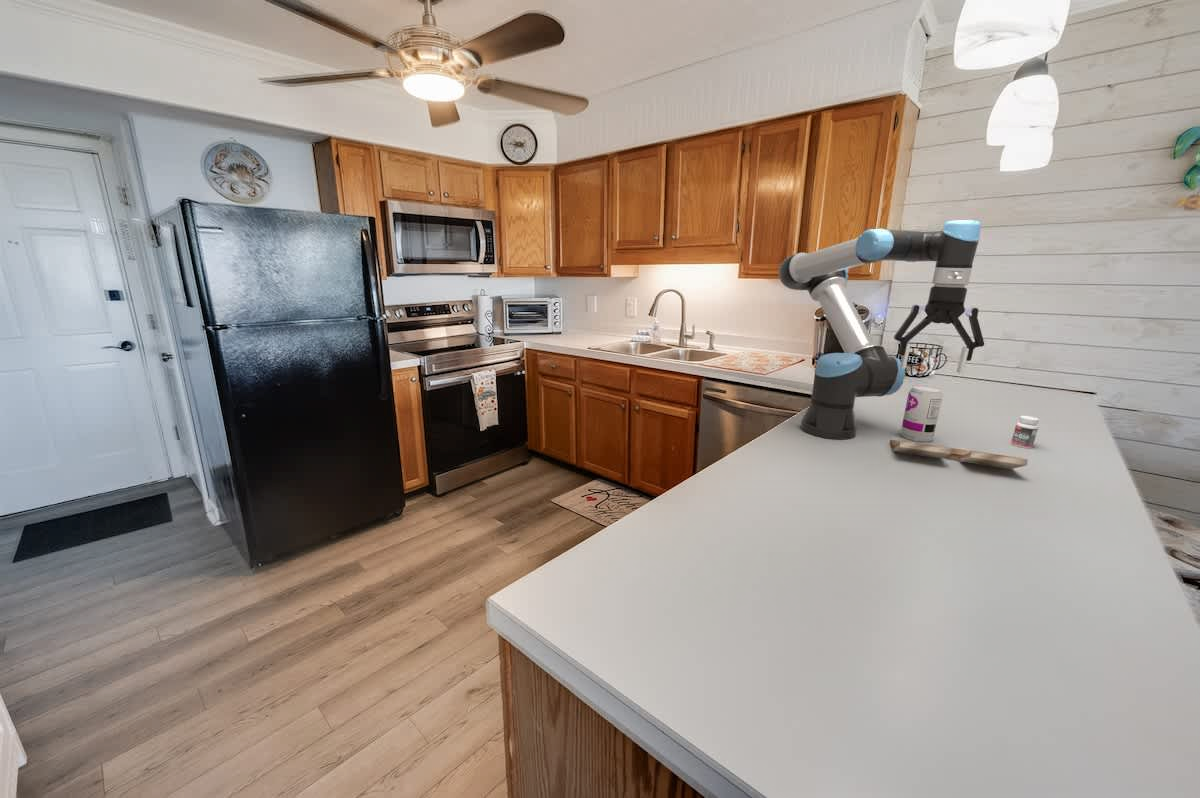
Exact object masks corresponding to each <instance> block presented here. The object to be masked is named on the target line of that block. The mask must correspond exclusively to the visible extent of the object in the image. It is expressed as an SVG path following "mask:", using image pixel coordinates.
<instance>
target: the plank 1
mask: <svg viewBox="0 0 1200 798" xmlns="http://www.w3.org/2000/svg"><path fill="white" fill-rule="evenodd" d="M899 441H900V443H898V444H897V445H895V446H894V447H893V451H892V452H897V453H901V454H902V453H903V454H909V455H915V456H923V457H929V458H937V459H944V458H943V457H946V456H948V455H950V454H951V449H952V448H953V447H948V446H941V447H940V446H939V445H934V446H932V444H927V445H925V444H926V443H925V444H924V443H919V444H918V442H912V441H905V440H899ZM904 441H905V442H904ZM911 442H912V443H911ZM947 447H948V448H947Z"/></svg>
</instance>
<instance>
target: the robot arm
mask: <svg viewBox="0 0 1200 798" xmlns="http://www.w3.org/2000/svg"><path fill="white" fill-rule="evenodd" d="M981 228H982V225H981V222H980V221H978V220H973V219H961V220H960V219H958V220H956V219H955V220H948V221H945V223H944V225H943V228H942V230H936V231H935V230H931V231H929V230H927V231H921V230H920V231H919V230H900V229H886V228H873V229H872V228H871V229H867V230H864V231H863V232H862V234H860V235H859V236H858V237H857V238H853V239H850V240H847V241H844V242H841V243H838V244H835V245H831V246H828V247H825V248H821V249H818V250H815V251H812V252H810V253H807V252H799V253H794V254H792V255H790V256H787V257H786V258H785V259H784V260H782V262H781V263H780V265H779V268H778V279H779V282H781V284H782V285H783V286H785V288H788V289H790V290H795V291H808V293H809V296H810V298H811V299H812V300H813V301H814V302H819V305H820V306H821V308H822V310H823V313H824V314H825V317H826V318H827V320H828V322H829V325H830V327H831V328H832V331H833V332H834V334H835V336H836V338H837V340H838V342H839V345H840V346H841V349H842V350H843V352H832V353H826V354H823V355H821V356H820V357H818V359H817V360H816V366H815V369H814V378H813V383H812V384H813V386H812V392H811V397H810V398H811V399H810V404H809V406H808V408H807V410H806V411H805V414H804V415H803V417H802V419H801V424H800V429H802V431H804V432H805V433H808V434H810V435H812V436H813V435H814V436H816V437H820V438H824V439H832V440H833V439H834V440H848V439H853V438H854V437H856V434H857V423H856V418H855V412H854V407H855V402H856V398H865V397H866V398H868V397H885V396H890V395H893V394H896V392H898V391H899V390H900V389H901V387H902V386H903V383H904V379H905V377H906V370H905V369H906V368H907V363H908V360H909V359H908V358H909V355H910V354H909V353H910V349H911V343H909V342H910V341H912V340H913V338H914V337H916V336H917V335H918V334H920V332H922V330H923V329H925V328H926V327H927V326H929V325H930V324H932V323H933V324H945V325H950V324H952V326H953V327H954V329H955V330H956V332H957V333H958V335H959V336H960V337H961V339H962V341H963V343H964V344H965V346H963V347H961V352H960V357H959V361H958V363H957V364H958V365H957V368H956V373H958V374H959V375H961V374H962V375H964V371H965V368H966V362H968V361H971V360H972V359H973V358H972V357H973V354H974V350H975V349H976V348H979V347H980V348H981V347H984V346H985V342H984V337H983V333H982V330H981V327H980V323H979V319H978V316H979V308H977V307H965V301H966V298H967V294H968V293H967V292H968V289H967V287H966V286H968V285H969V284H970V278H971V273H972V269H973V263H974V259H975V256H976V252H977V247H978V245H979V242H980V235H981ZM882 261H895V262H897V261H899V262H907V263H908V262H909V263H911V262H912V263H915V262H935V269H934V272H933V276H932V277H933V278H932V281H931V284H933V286H931V287H930V291H929V295H928V300H927V303H926V304H925V305H918V304H913V305H912V306H911V311H910V313H909V315H908V316H907V317H906V318H905V320H904V322H902V324H901V326H900V328H898V330H897V331H896V333H895V335H893V339H894V340H896V341H897V342H899V343H900V345H899V351H898V354H899V356H902V358H901V360H900V359H899V358H898V357H894V356H889V355H888V353H887V351H886V350H885V347H884V346H882V345H880V344H876V342H874V340H873V338H872V336H871V333H870V332H869V331H868V328H867V327H866V325H865V323H864V321H863V320H862V317H861V316H860V313H859V312H858V310H857V307H856V306H855V305H854V303H853V301H852V299H851V297H850V295H849V293H848V291H847V290H846V287H847V285H848V280H849V275H848V273H849V269H852V268H855V267H860V266H864V265H868V264H873V263H877V262H882ZM923 311H924V312H925V314H926V316H925V317H924V318H923V319H922V320H921V321H920V322H919V323H918V324H916V326H914V327H913V328H912V329H911V330H910V331H909V332H908V333H906V332H907V330H908V329H909V328H910V327H911V325H912V323H913V322H914V320H915V319H916V318H917V317H918V315H920V314H921V313H923ZM964 313H965V315H966V317H968V321H969V325H970V328H971V332H972V335H973V340H974V341H973V340H972V338H971V336H970V335H969V334H968V332H967V329H965V327H964V326H963V324H962V322H961V320H960V319H959V318H960V317H961V316H962V315H963V314H964ZM905 333H906V334H905ZM904 334H905V335H904Z"/></svg>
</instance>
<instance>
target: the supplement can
mask: <svg viewBox="0 0 1200 798" xmlns="http://www.w3.org/2000/svg"><path fill="white" fill-rule="evenodd" d="M943 397H944V396H943V393H942V390H941V389H940V388H936V387H932V386H925V385H913V386H912V387H911V389H910V390H909V391H908V394H907V399H906V405H905V409H904V412H903V413H904V414H903V418H902V419H903V420H902V423H901V429H900V434H901V436H902V437H903V438H905V439H907V440H910V441H913V442H914V441H915V442H920V443H927V442H930V441H932V440H934V436H935V433H936V428H937V423H938V419H939V415H940V410H941V406H942V405H941V404H942V401H943Z"/></svg>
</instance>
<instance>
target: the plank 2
mask: <svg viewBox="0 0 1200 798" xmlns="http://www.w3.org/2000/svg"><path fill="white" fill-rule="evenodd" d="M969 451H970V453H968V454H965V455H963V456H960V461H959V462H963V463H968V464H969V463H971V464H977V465H981V466H982V465H983V466H990V467H997V468H1003V469H1008V470H1009V469H1011V470H1014V469H1018V468H1022V467H1027V466H1028V460H1029V459H1028V458H1024V457H1016V456H1010V455H1009V456H1008V455H1004V456H1003V455H1002V454H998V455H996V453H990V454H989V452H983V451H976V452H975V450H969ZM982 452H983V453H982Z"/></svg>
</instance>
